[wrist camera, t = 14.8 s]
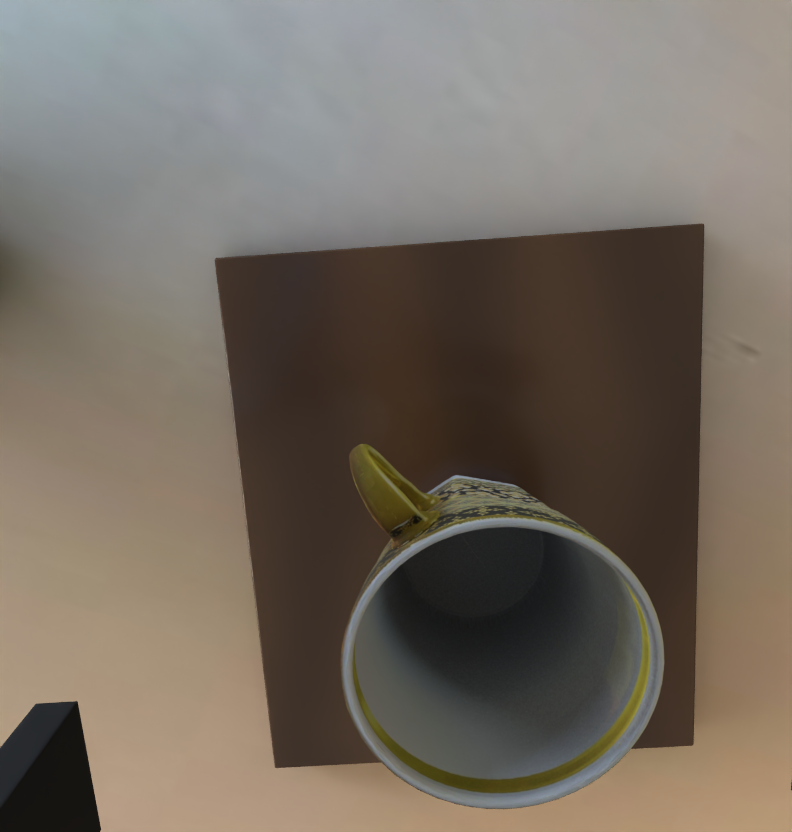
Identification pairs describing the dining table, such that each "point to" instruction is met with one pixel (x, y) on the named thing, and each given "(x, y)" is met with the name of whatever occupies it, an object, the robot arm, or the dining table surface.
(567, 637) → the ceramic cup
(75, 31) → the dining table surface
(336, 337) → the serving board
